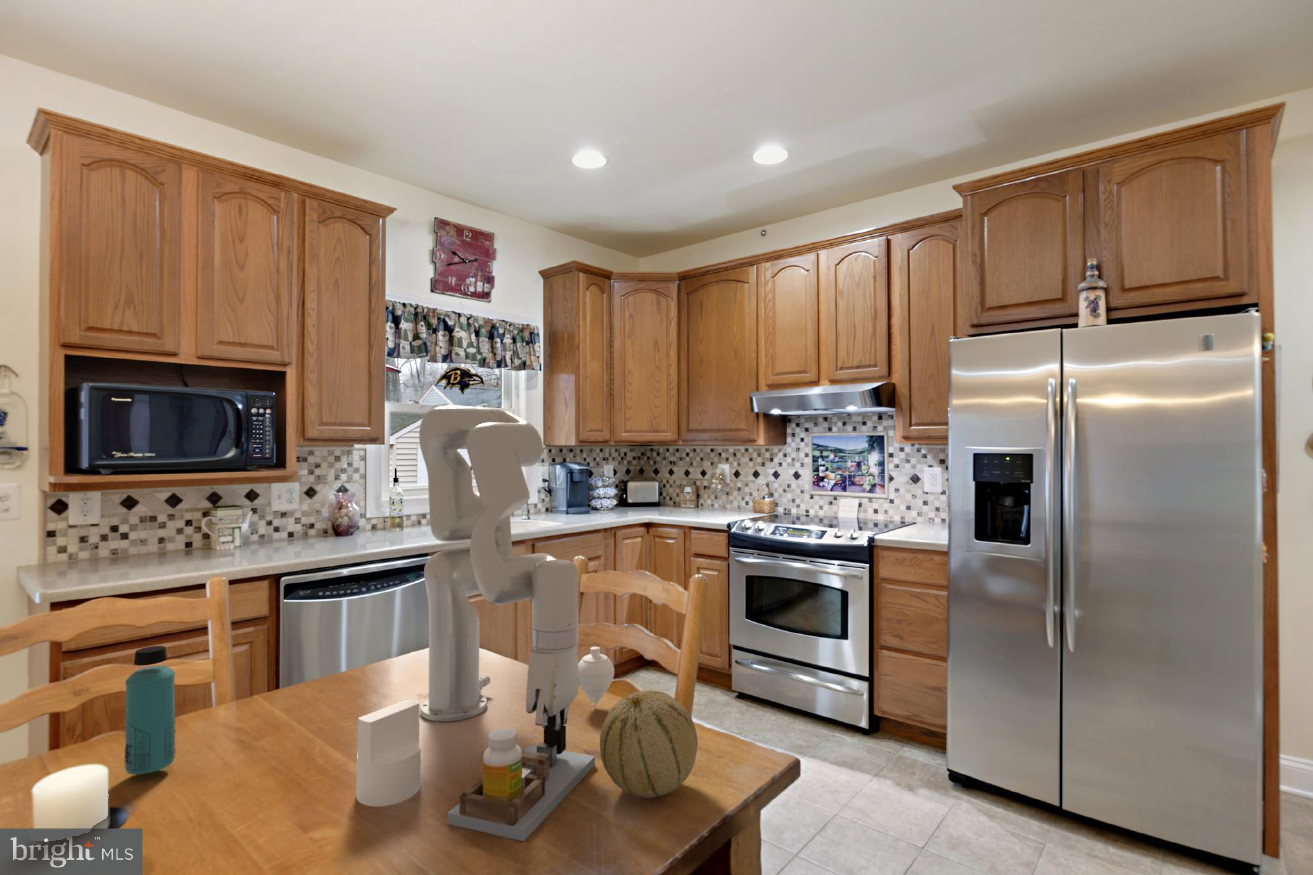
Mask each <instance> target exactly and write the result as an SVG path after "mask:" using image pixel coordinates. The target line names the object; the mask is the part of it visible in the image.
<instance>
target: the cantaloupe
mask: <svg viewBox="0 0 1313 875" xmlns="http://www.w3.org/2000/svg"><path fill="white" fill-rule="evenodd" d="M698 743H699V742H698V734H697V730H696V725H695V722H694V721H693V719H692V716H691V714H690V713H689V711H688V710H687V708H685V706H684V705H683V704H682V703H681V702H680V701H678V700H677V699H676V698H674V697H672V695H669V694H668V693H665V692H664V691H661V690H653V689H652V690H641V691H639V690H638V691H636V692H634V693H631V694H629V695H627V696H625V697H624V698H622V699H621V700H619V701H618V702H616V703H615V704H614V705H613V706H612V707H611V708H610V710H608V713H607V715H606V717H605V719H604V722H603V725H602V727H601V730H600V736H599V752H600V759H601V762H602V765H603V768H604V769H605V772H606V773H607V775H608V777H610V779H611V781H612V782H613V783H614V784H615V785H616V786H617V787H618V788H620V790H622V791H623V792H624V793H626V794H628V795H630V796H634V797H639V798H644V799H651V798H656V797H659V796H660V797H661V796H664V795H668V794H670V793H671V792H672V791H674V790H675V789H677V788H678V787H680V786H681V785H682V784H683V783H684V782H685V781H686V780H687V779H688V777H689V776H690V775H691V773H692V769H693V768H694V766H695V763H696V758H697V753H698V746H699V744H698Z"/></svg>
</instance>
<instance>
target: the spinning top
mask: <svg viewBox="0 0 1313 875" xmlns="http://www.w3.org/2000/svg"><path fill="white" fill-rule="evenodd" d="M589 651H590V653H589V654H587V655H584V656H582V658H581V659H580V661H578V670H579V687H580V688H581V690H582V691H583V693H584V695H585V696H586V697H587V698H588V699H589V701H590V702H591V703H592V704H593V708H594V709H597V704H598V703H599V701H601V699H603V697H604V695H605V694H606V692H607V691H608V689H609V687H610V686H611V684H612V681H613V679H614V676H615V667H614V665H613V662H612V660H610V659H609V657H608V656H607V655H605V654H602V653H600V651H601V647H599V646H592V647H590V650H589Z"/></svg>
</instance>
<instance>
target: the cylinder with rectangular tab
mask: <svg viewBox="0 0 1313 875" xmlns="http://www.w3.org/2000/svg"><path fill="white" fill-rule="evenodd" d="M357 738H358V739H357V755H356V793H355V794H356V795H355V796H356V797H355V798H356V799H357V802H358V803H360V804H361V805H365V806H368V807H375V808H376V807H386V806H392V805H395V804H400V803H402V802H404V801H407V800H409V799H411V798H412V797H413V796H415V795H417V793H418V792H419V791H420V789H421V783H422V782H421V781H422V780H421V776H422V775H421V773H422V772H421V771H422V770H421V769H422V765H421V764H422V763H421V762H422V760H421V759H422V758H421V757H422V747H421V746H422V745H421V743H420V702H419V701H416V700H414V699H413V700H412V699H405V700H402V701H400V702H397V703H394V704H391V705H389V706H386V707H384V708H380V709H378V710H376V711H373V712H371V713H368V714H364V715H362V716H359V717H358V720H357Z"/></svg>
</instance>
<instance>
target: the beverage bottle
mask: <svg viewBox="0 0 1313 875" xmlns="http://www.w3.org/2000/svg"><path fill="white" fill-rule="evenodd" d="M167 659H168V655H167V648H166V646H164V645H152V646H146V647H141V648H139V649H137V650H136V651H135V653H134V660H133V665H135V666H146V667H143V668H140V669H137V670H135V671H133V673H131V674H130V675H129V676H128V677H127V678H126V680H125V710H124V711H125V712H124V713H125V715H124V720H125V726H123V727H124V731H123V732H124V733H123V734H124V735H123V736H124V737H125V744H124V761H123V762H124V763H123V764H124V765H123V767H124V769H125V771H126V773H127V774H130V775H143V774H144V775H145V774H150V773H153V772H157V771H160V770H163V769H164V768H166V767H168V766H170V765H172V764H173V763H174V760H175V758H176V752H177V748H176V735H177V730H176V724H177V723H176V720H177V717H176V715H177V714H176V704H175V701H176V700H175V699H176V698H175V697H176V696H175V688H176V687H175V684H176V683H175V676H176V672H175V670H174V669H172V668H170V667H169V666H167V665H156V664H160V663H163V662H165V661H167ZM150 665H152V666H150ZM147 666H148V667H147Z"/></svg>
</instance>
